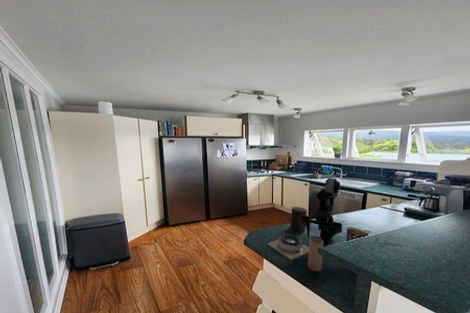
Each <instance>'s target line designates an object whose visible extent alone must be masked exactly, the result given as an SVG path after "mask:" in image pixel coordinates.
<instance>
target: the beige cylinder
mask: <svg viewBox="0 0 470 313" xmlns="http://www.w3.org/2000/svg"><path fill="white" fill-rule="evenodd" d="M308 247H309V253H308V254H307V256H308V259H307V268H308V269H309V270H310V271H313V272H317V271H318V272H322V268H323V256H321V255H320V254H319V253H318V248H322V247H323V248H324V242H323V240H322V239H321V238H320V236H316V235H312V236H310V237H309V242H308Z"/></svg>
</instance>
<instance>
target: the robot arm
mask: <svg viewBox="0 0 470 313" xmlns="http://www.w3.org/2000/svg"><path fill="white" fill-rule="evenodd" d="M340 190H341V182H340V181H338V180H337V178H332V177H331V178H329V177H327V179H326V180H325V184H324V187H322V188H321V189H320V191H318V192H317V194H316V199H317V205H318V206H317V209H315V213H314V219H313V218H312V219H311V215H307V216H306V215H303V216H302V217H301V221H302V224H304V226H306V233H307V234H306V235H307V238H309V239H310V231H311V224H314V225H317V230H319V231H320V234H319V237H320V238H321V239H322V240H323V243H324V244H330V243H332V242H334V240H333V238H334V236H336V235H339V234H342V233H343V224H342V222H337V221H334V217H333V216H332V215H333V209H334V204H335V199H336V196H337V195H338V194H339V191H340Z"/></svg>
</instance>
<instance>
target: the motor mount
mask: <svg viewBox="0 0 470 313" xmlns="http://www.w3.org/2000/svg"><path fill="white" fill-rule="evenodd" d="M267 246H269V247H270V248H271V249H273V250H274V251H276V252H277V253H279V254H280V255H282V256H284V258H286V259H288V260H289V261H293V260H295V259H299V258H300V257H302V256H305V255H308V254H309V246H307V245H306V244H304V243H303V240H301V238H299V237H298V236H296V235H293V234H283V235H280V236H279V237H278V238H277V240H276V239H275V240H273V241H270V242H268V243H267Z"/></svg>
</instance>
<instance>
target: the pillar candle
mask: <svg viewBox="0 0 470 313" xmlns="http://www.w3.org/2000/svg"><path fill="white" fill-rule="evenodd" d="M307 214H308V209H307V208H304V207H301V206H293V207H291V214H290V216H291V217H290V226H289V227H290V229H291V230H292V231H293V232H297V233H304V232H306V230H307V227H306V226H304V224H302V221H301V217H302V216H303V215H306V216H308V215H307Z"/></svg>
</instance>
